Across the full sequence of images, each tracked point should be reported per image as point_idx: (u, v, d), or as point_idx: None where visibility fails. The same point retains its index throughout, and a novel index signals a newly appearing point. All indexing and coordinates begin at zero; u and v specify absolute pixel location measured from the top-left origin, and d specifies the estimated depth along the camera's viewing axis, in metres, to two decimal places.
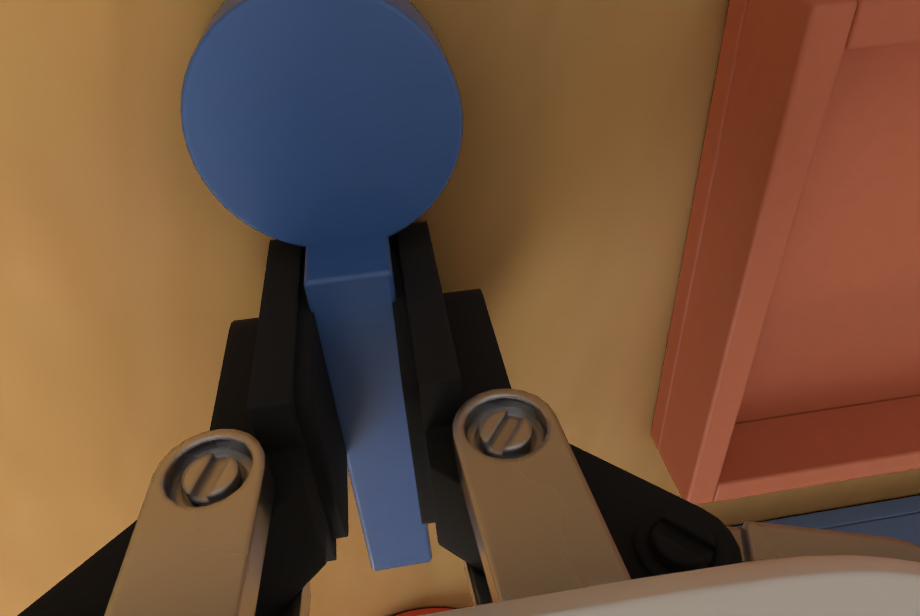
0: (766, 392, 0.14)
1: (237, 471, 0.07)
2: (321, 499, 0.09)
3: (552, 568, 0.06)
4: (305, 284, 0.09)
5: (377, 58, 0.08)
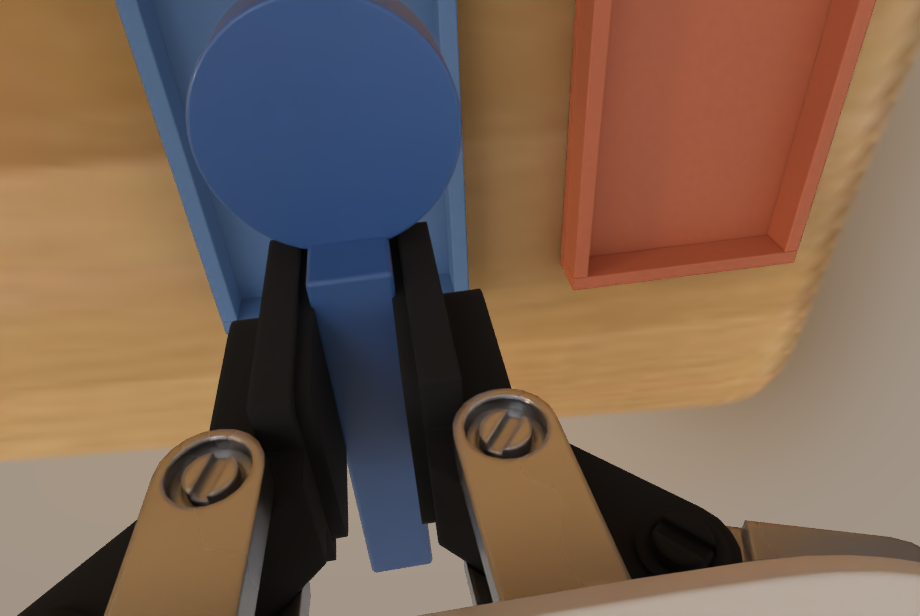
0: None
1: (237, 471, 0.07)
2: (321, 499, 0.09)
3: (552, 568, 0.06)
4: (307, 285, 0.09)
5: (378, 63, 0.08)
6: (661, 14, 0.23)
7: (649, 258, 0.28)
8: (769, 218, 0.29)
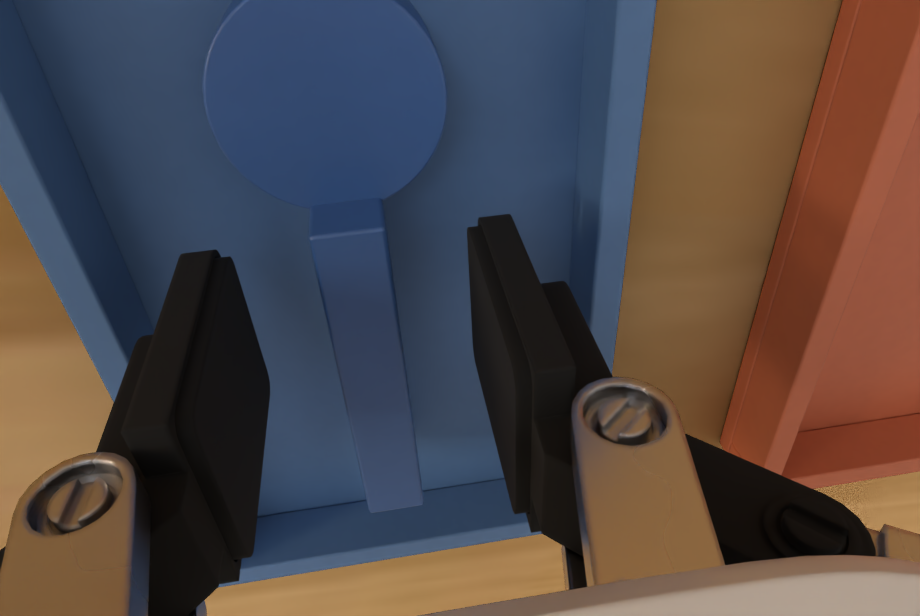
0: None
1: (107, 496, 0.07)
2: (216, 520, 0.09)
3: (697, 552, 0.06)
4: (309, 238, 0.10)
5: (372, 39, 0.10)
6: None
7: (865, 442, 0.18)
8: None
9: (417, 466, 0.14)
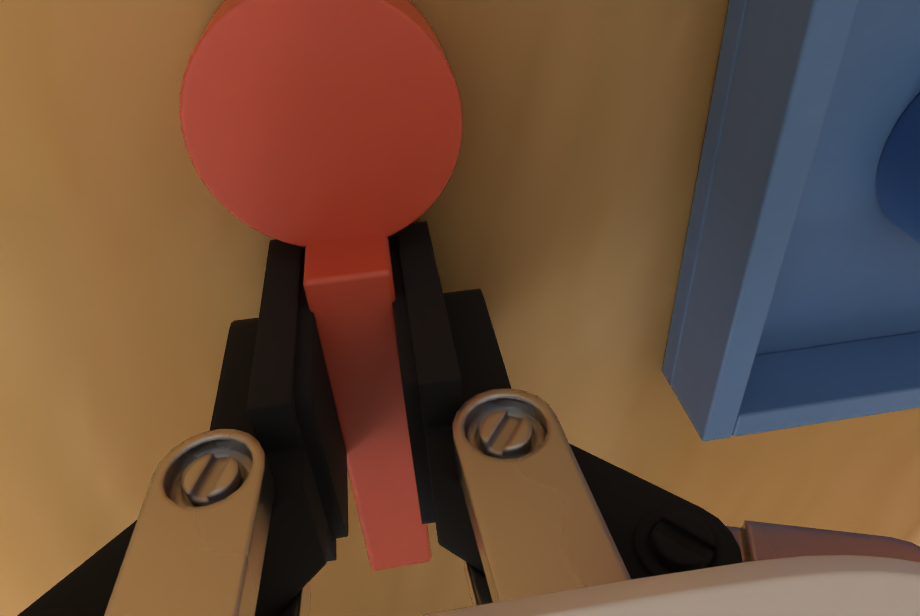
0: None
1: (237, 471, 0.07)
2: (321, 499, 0.09)
3: (552, 568, 0.06)
4: None
5: None
6: None
7: None
8: None
9: None
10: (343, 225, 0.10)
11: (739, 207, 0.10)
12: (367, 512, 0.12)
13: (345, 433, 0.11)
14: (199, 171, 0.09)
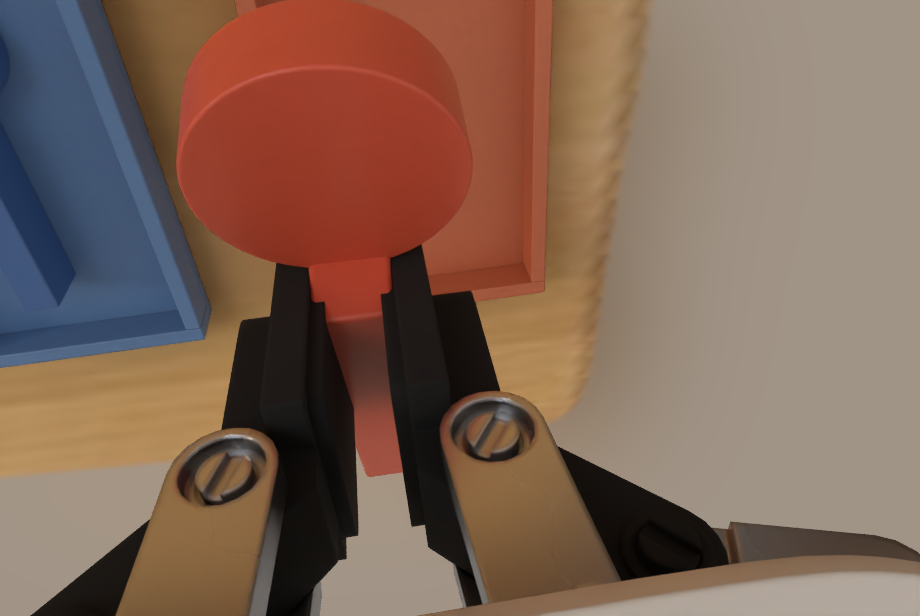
0: None
1: (250, 470, 0.07)
2: (332, 498, 0.09)
3: (537, 572, 0.06)
4: None
5: None
6: None
7: None
8: (520, 247, 0.28)
9: (43, 278, 0.23)
10: (346, 252, 0.10)
11: None
12: (364, 448, 0.14)
13: None
14: (200, 217, 0.09)
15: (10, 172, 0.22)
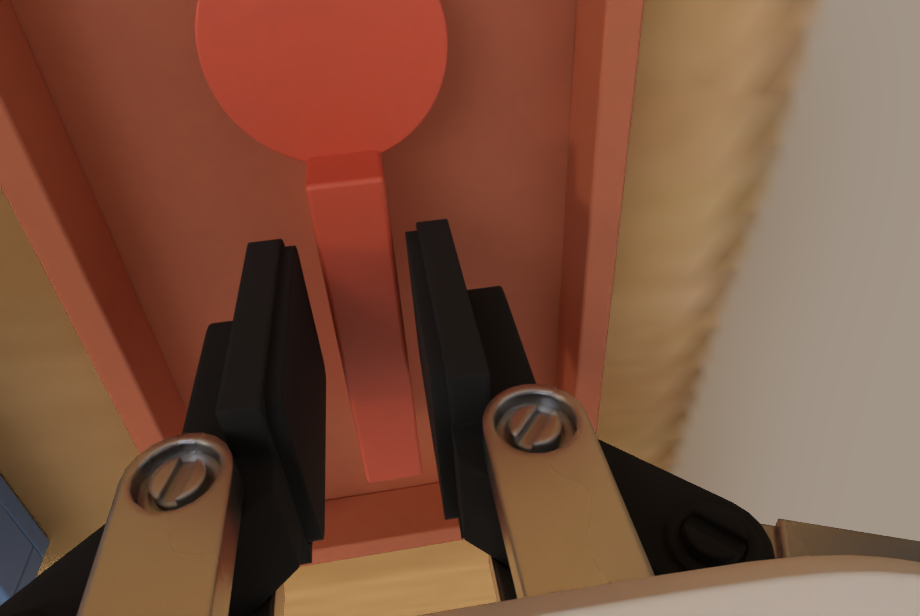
0: None
1: (205, 475, 0.07)
2: (295, 502, 0.09)
3: (588, 560, 0.06)
4: None
5: None
6: (225, 163, 0.12)
7: (344, 518, 0.17)
8: None
9: None
10: (340, 141, 0.11)
11: None
12: (362, 422, 0.13)
13: (342, 339, 0.12)
14: (211, 85, 0.10)
15: None
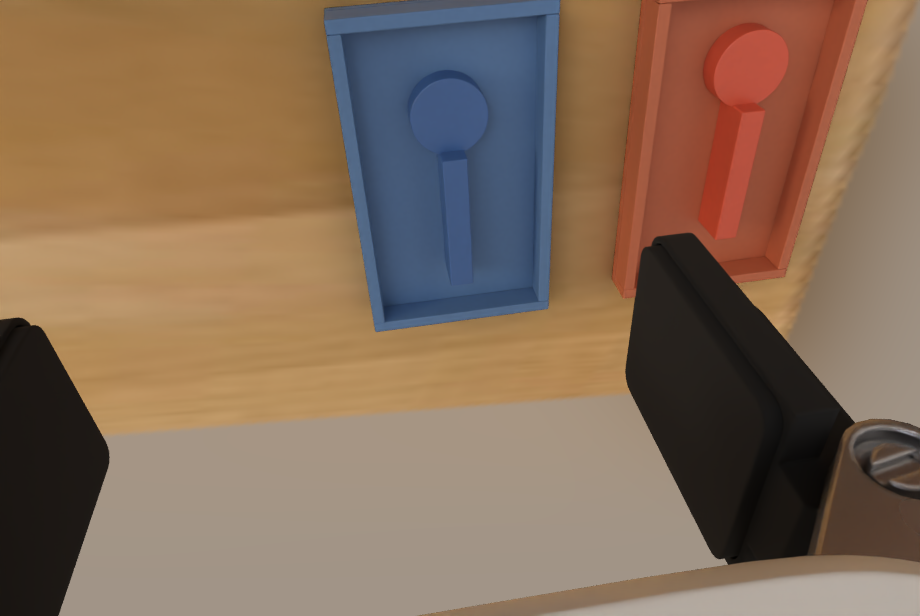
0: (671, 31, 0.31)
1: None
2: None
3: None
4: (442, 162, 0.30)
5: (465, 97, 0.30)
6: (690, 109, 0.33)
7: None
8: (766, 244, 0.39)
9: (472, 262, 0.34)
10: (745, 99, 0.32)
11: (438, 6, 0.27)
12: (724, 208, 0.34)
13: (731, 171, 0.33)
14: (714, 81, 0.31)
15: None
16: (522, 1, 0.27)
